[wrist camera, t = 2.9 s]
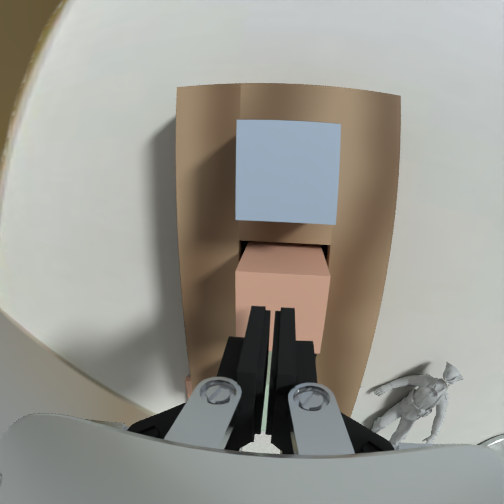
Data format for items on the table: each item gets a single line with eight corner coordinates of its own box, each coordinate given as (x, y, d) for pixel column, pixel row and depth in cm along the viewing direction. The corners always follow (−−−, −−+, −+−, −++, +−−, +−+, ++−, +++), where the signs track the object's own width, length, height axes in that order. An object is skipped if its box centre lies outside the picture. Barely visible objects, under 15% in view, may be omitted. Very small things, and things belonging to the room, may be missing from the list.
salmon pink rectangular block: (319, 241, 19) (330, 276, 13) (313, 303, 20) (319, 353, 15) (250, 237, 19) (235, 271, 14) (249, 300, 20) (235, 348, 15)
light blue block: (325, 132, 16) (340, 124, 11) (322, 203, 18) (335, 225, 13) (252, 129, 17) (236, 119, 12) (250, 200, 18) (235, 220, 13)
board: (380, 105, 17) (400, 95, 13) (344, 384, 24) (350, 417, 20) (197, 98, 18) (177, 87, 15) (206, 375, 25) (194, 407, 22)
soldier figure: (338, 420, 27) (405, 359, 20) (367, 398, 30) (432, 333, 22) (382, 473, 22) (466, 428, 15) (408, 446, 25) (486, 393, 18)
